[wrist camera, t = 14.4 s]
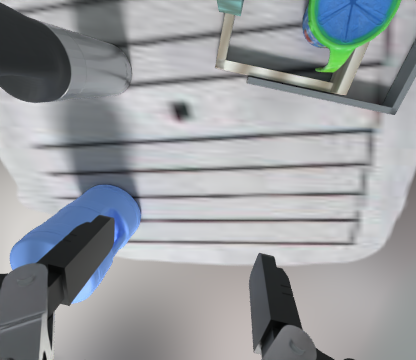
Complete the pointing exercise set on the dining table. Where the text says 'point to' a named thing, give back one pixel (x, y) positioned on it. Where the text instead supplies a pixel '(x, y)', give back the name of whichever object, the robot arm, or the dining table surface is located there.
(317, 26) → the snack cup
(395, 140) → the dining table surface
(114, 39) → the dining table surface
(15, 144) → the dining table surface
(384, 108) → the rectangular frame
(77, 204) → the water jug
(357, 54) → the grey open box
